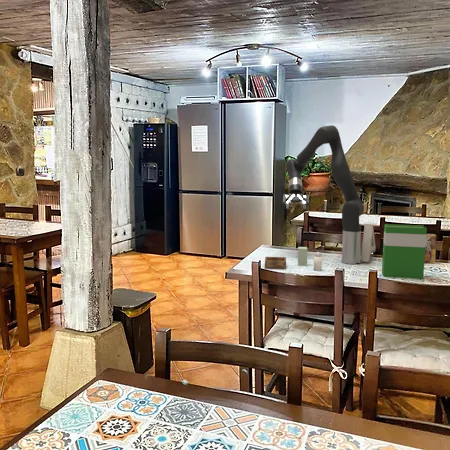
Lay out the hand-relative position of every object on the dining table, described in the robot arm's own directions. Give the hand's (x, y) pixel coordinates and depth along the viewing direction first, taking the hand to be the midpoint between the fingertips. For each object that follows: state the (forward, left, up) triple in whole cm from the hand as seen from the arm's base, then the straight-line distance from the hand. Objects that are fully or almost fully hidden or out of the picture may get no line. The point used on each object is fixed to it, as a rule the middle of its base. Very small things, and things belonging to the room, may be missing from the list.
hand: (296, 210), depth 247 cm
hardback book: (-49, +31, -27) cm, 64 cm away
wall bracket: (-42, -10, -28) cm, 51 cm away
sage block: (-3, +14, -27) cm, 31 cm away
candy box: (-69, +1, -27) cm, 75 cm away
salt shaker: (-10, +24, -27) cm, 38 cm away
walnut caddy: (+11, +20, -27) cm, 35 cm away
